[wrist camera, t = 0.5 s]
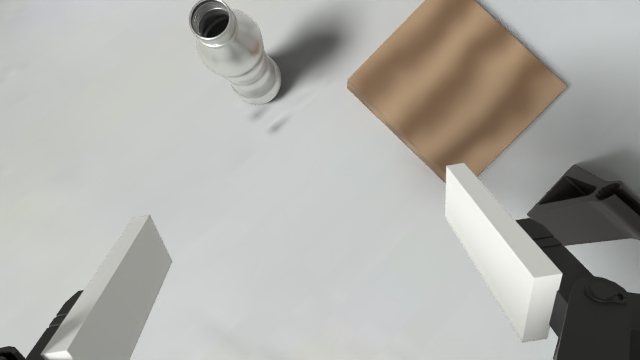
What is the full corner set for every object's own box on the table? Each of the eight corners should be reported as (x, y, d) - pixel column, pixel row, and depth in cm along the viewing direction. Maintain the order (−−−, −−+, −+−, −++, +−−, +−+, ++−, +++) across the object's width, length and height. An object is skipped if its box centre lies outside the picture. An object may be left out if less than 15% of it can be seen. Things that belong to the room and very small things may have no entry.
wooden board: (548, 94, 48) (567, 86, 44) (452, 190, 49) (462, 190, 45) (439, -7, 49) (448, -24, 45) (347, 88, 50) (347, 79, 46)
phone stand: (560, 245, 48) (633, 265, 36) (525, 214, 48) (587, 224, 36) (607, 196, 48) (697, 199, 36) (572, 165, 48) (650, 158, 36)
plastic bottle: (228, 80, 51) (156, 12, 31) (266, 52, 51) (219, -36, 31) (254, 117, 50) (199, 73, 31) (293, 88, 50) (263, 25, 30)
